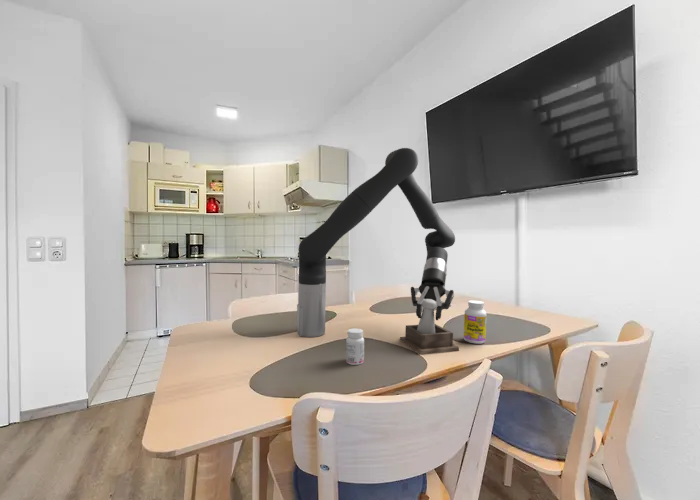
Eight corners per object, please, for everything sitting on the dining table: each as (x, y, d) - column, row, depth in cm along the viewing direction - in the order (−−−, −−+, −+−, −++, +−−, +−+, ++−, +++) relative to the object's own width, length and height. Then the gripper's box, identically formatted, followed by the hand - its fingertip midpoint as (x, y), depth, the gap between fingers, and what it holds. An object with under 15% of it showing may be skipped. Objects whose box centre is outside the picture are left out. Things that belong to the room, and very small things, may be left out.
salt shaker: (434, 345, 96) (439, 304, 94) (415, 342, 97) (419, 302, 95) (434, 336, 102) (438, 298, 100) (415, 334, 103) (419, 296, 101)
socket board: (419, 354, 90) (420, 337, 90) (399, 339, 103) (400, 324, 103) (458, 350, 94) (459, 333, 94) (435, 337, 107) (435, 322, 106)
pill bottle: (359, 357, 87) (360, 327, 87) (366, 364, 83) (367, 332, 83) (343, 359, 86) (344, 328, 85) (349, 366, 81) (350, 333, 81)
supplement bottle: (462, 342, 102) (464, 302, 101) (463, 336, 108) (465, 299, 107) (485, 345, 99) (487, 304, 98) (485, 339, 105) (486, 300, 105)
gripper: (411, 265, 107) (402, 308, 96) (456, 268, 102) (452, 313, 91) (414, 279, 112) (406, 321, 102) (457, 282, 107) (452, 327, 96)
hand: (427, 317), depth 96 cm, fingers open, 4 cm apart
